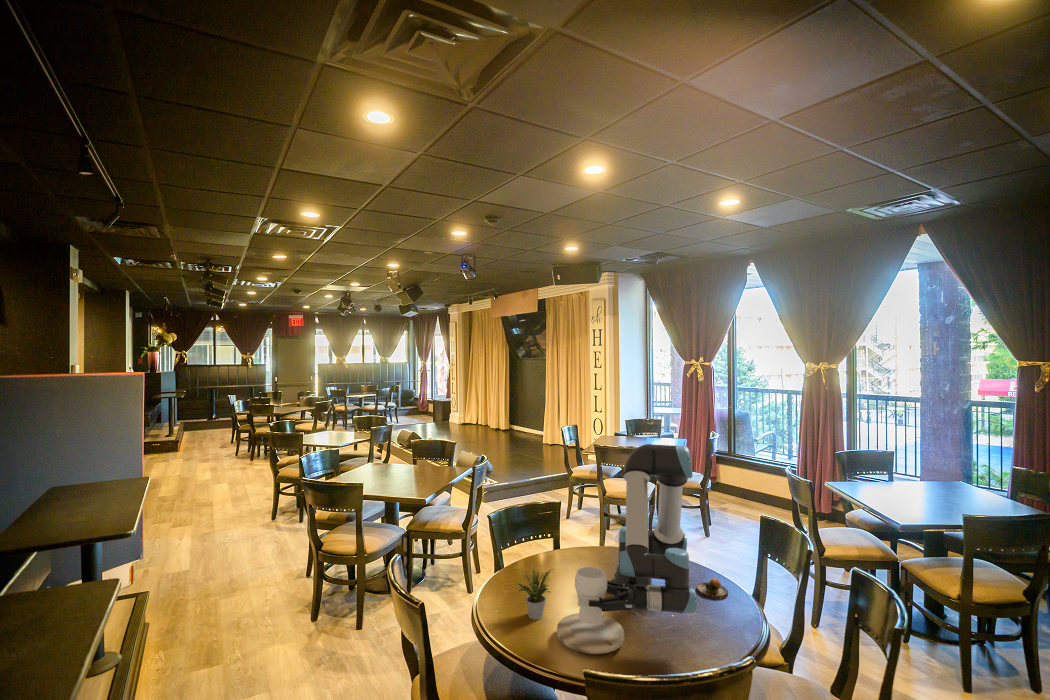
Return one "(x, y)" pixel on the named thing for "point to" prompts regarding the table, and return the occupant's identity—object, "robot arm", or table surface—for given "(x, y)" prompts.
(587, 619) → the cup
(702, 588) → the plate of food
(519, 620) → the table surface
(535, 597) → the house plant
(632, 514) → the robot arm
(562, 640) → the turntable platter
